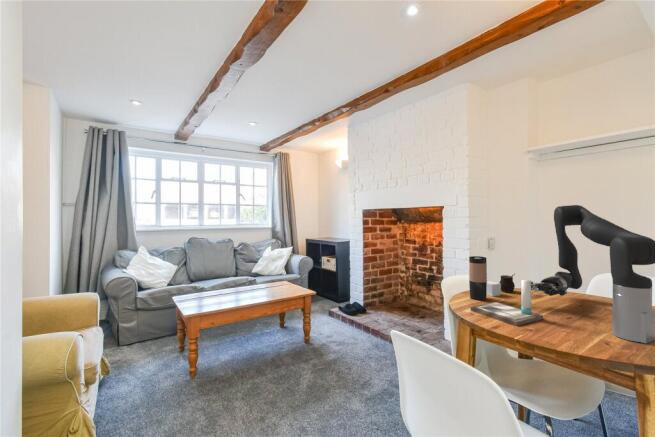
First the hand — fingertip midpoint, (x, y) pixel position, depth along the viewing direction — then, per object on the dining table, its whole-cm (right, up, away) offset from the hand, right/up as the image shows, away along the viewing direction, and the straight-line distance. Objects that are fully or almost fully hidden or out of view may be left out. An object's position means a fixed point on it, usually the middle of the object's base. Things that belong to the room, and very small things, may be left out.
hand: (537, 291), depth 126 cm
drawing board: (-15, -9, -2) cm, 18 cm away
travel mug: (-14, -9, +21) cm, 27 cm away
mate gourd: (+7, -8, +33) cm, 34 cm away
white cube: (-4, -9, +28) cm, 30 cm away
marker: (-9, -7, -6) cm, 13 cm away
